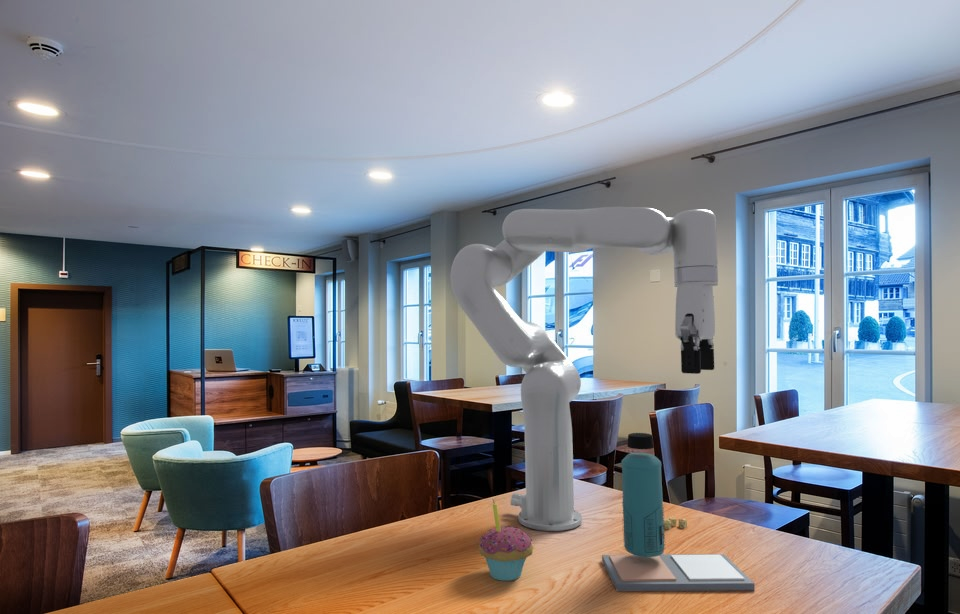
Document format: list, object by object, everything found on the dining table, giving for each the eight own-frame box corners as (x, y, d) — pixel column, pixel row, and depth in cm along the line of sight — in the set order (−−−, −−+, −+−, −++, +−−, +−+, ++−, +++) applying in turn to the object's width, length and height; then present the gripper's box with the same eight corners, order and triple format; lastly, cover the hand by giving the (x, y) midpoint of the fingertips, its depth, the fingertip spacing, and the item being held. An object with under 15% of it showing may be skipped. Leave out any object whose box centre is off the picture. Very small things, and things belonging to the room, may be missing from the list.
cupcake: (494, 590, 85) (493, 508, 86) (469, 569, 93) (468, 494, 93) (543, 578, 89) (542, 500, 90) (515, 559, 97) (514, 487, 97)
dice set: (688, 530, 111) (688, 520, 111) (667, 534, 109) (667, 524, 109) (670, 522, 116) (670, 513, 116) (649, 526, 114) (649, 516, 114)
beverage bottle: (667, 569, 89) (663, 437, 90) (622, 565, 91) (619, 436, 91) (664, 553, 95) (661, 430, 96) (622, 549, 97) (620, 429, 98)
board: (616, 591, 85) (616, 582, 85) (602, 561, 96) (602, 553, 96) (754, 590, 84) (754, 581, 84) (724, 560, 95) (723, 552, 95)
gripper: (688, 282, 116) (690, 368, 115) (660, 276, 102) (663, 374, 101) (727, 279, 112) (730, 369, 111) (705, 273, 97) (708, 375, 97)
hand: (698, 371), depth 106 cm, fingers open, 9 cm apart
